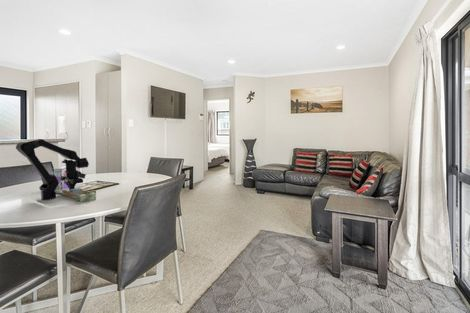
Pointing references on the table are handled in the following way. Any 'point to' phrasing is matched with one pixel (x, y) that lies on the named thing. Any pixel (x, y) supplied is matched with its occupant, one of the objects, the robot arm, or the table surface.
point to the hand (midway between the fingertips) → (72, 192)
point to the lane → (81, 198)
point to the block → (75, 190)
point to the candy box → (59, 173)
